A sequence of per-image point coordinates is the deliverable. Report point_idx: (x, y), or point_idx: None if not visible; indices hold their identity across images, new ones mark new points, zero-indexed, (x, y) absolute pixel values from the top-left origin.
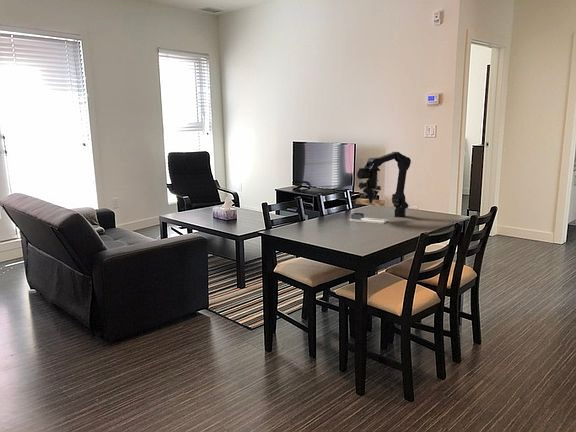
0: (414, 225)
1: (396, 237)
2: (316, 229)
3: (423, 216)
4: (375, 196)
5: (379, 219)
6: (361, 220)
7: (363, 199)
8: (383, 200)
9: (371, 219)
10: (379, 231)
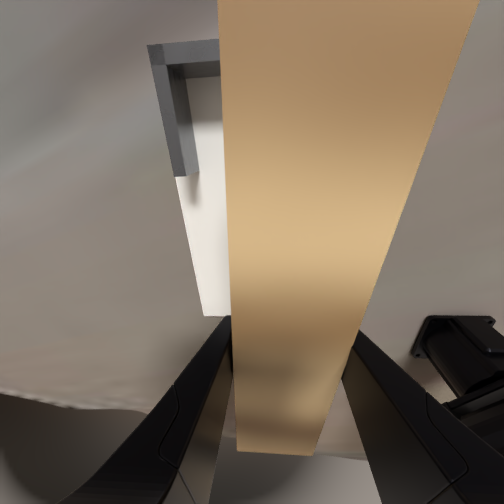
0: None
1: (39, 379)
2: None
3: None
4: (369, 459)
5: None
6: (177, 183)
7: (274, 215)
8: (309, 449)
9: None
10: (63, 324)
